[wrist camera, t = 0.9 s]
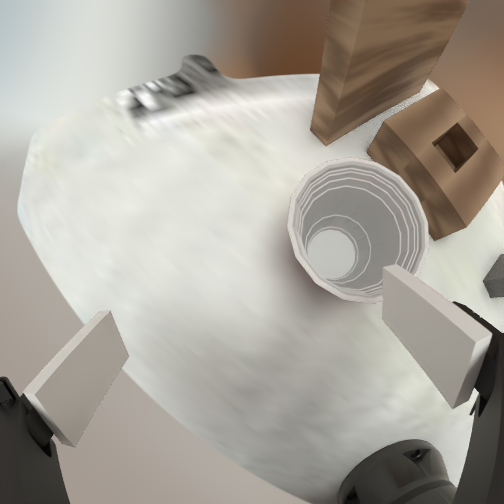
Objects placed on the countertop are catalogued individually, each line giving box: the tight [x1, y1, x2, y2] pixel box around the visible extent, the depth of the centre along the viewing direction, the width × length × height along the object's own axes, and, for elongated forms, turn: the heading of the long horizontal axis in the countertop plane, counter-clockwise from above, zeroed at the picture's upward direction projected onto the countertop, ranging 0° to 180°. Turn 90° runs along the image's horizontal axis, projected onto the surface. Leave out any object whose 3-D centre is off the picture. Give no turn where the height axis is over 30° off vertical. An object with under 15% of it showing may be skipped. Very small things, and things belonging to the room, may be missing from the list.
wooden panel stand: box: [310, 0, 504, 241], centre depth 19 cm, size 20×22×22 cm
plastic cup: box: [287, 157, 429, 303], centre depth 23 cm, size 11×11×12 cm
